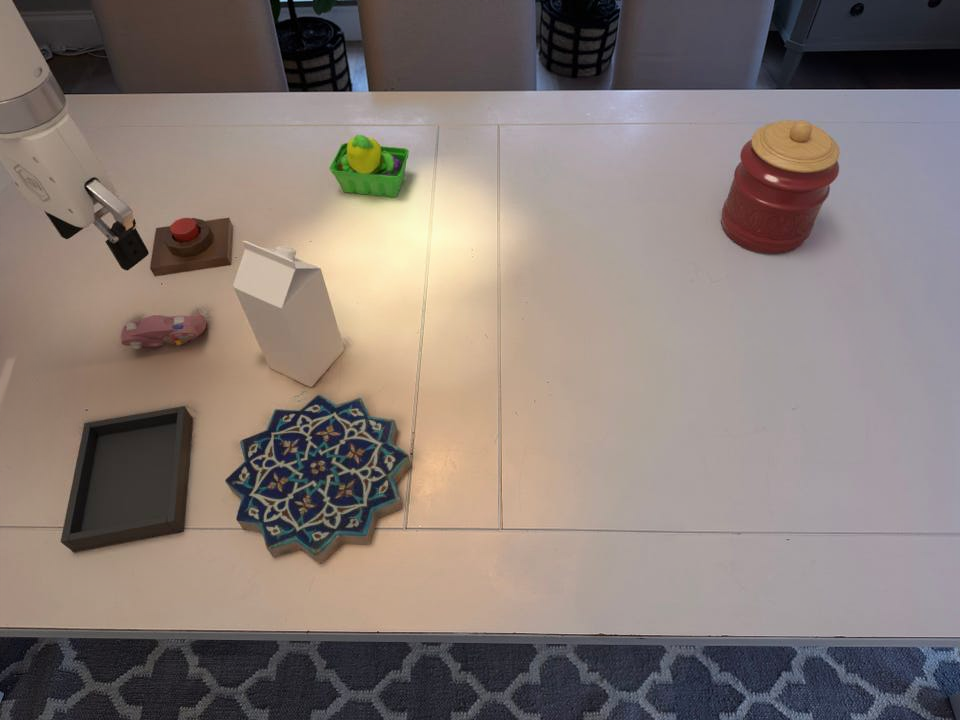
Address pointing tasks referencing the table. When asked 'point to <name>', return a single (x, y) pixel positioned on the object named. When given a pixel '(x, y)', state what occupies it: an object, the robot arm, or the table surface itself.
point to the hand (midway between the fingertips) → (105, 246)
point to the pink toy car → (162, 330)
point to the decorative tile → (319, 477)
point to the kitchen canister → (780, 186)
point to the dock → (129, 479)
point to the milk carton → (288, 312)
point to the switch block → (192, 248)
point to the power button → (185, 230)
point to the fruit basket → (369, 167)
